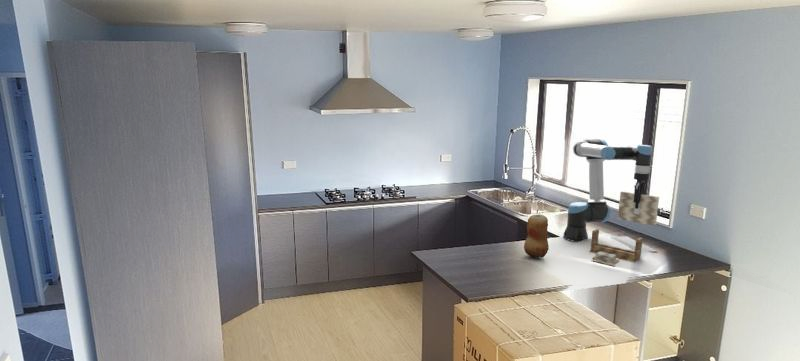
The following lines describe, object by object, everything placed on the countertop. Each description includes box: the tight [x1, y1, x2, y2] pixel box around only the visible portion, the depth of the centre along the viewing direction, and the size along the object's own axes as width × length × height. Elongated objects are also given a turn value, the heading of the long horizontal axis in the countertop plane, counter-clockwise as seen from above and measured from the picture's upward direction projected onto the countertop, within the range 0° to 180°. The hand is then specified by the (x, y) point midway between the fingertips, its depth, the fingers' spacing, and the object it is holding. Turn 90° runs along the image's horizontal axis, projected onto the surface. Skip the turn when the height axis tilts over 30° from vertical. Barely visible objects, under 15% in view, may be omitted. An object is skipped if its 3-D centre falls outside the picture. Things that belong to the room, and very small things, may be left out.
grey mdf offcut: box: [595, 251, 617, 262], centre depth 283 cm, size 9×6×2 cm, turn 51°
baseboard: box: [610, 234, 658, 253], centre depth 319 cm, size 31×3×12 cm
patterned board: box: [617, 191, 660, 226], centre depth 288 cm, size 20×2×16 cm, turn 48°
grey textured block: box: [592, 255, 620, 268], centre depth 284 cm, size 12×7×3 cm, turn 49°
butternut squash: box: [523, 213, 550, 260], centre depth 287 cm, size 14×13×25 cm
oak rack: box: [588, 228, 643, 263], centre depth 293 cm, size 26×12×14 cm, turn 48°
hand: (637, 213), depth 289 cm, fingers closed on patterned board, 2 cm apart
